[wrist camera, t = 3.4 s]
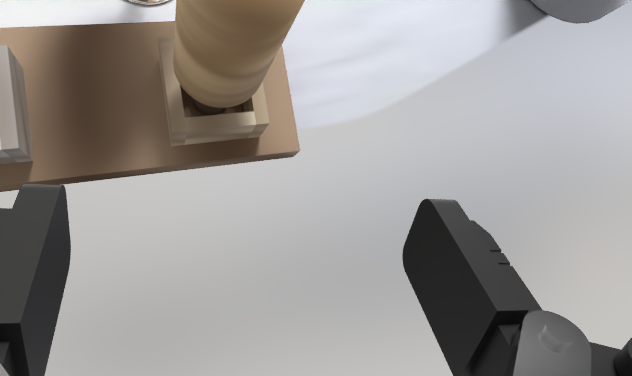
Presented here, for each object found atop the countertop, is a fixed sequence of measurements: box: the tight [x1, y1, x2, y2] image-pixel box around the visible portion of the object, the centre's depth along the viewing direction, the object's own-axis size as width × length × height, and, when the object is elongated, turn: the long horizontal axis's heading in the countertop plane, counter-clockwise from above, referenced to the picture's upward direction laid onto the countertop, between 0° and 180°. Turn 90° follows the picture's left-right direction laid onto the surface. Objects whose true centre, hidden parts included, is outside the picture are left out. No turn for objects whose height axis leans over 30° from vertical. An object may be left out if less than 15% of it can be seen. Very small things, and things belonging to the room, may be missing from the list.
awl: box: [173, 0, 305, 115], centre depth 20 cm, size 4×4×12 cm
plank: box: [0, 21, 300, 192], centre depth 24 cm, size 18×7×4 cm, turn 100°
